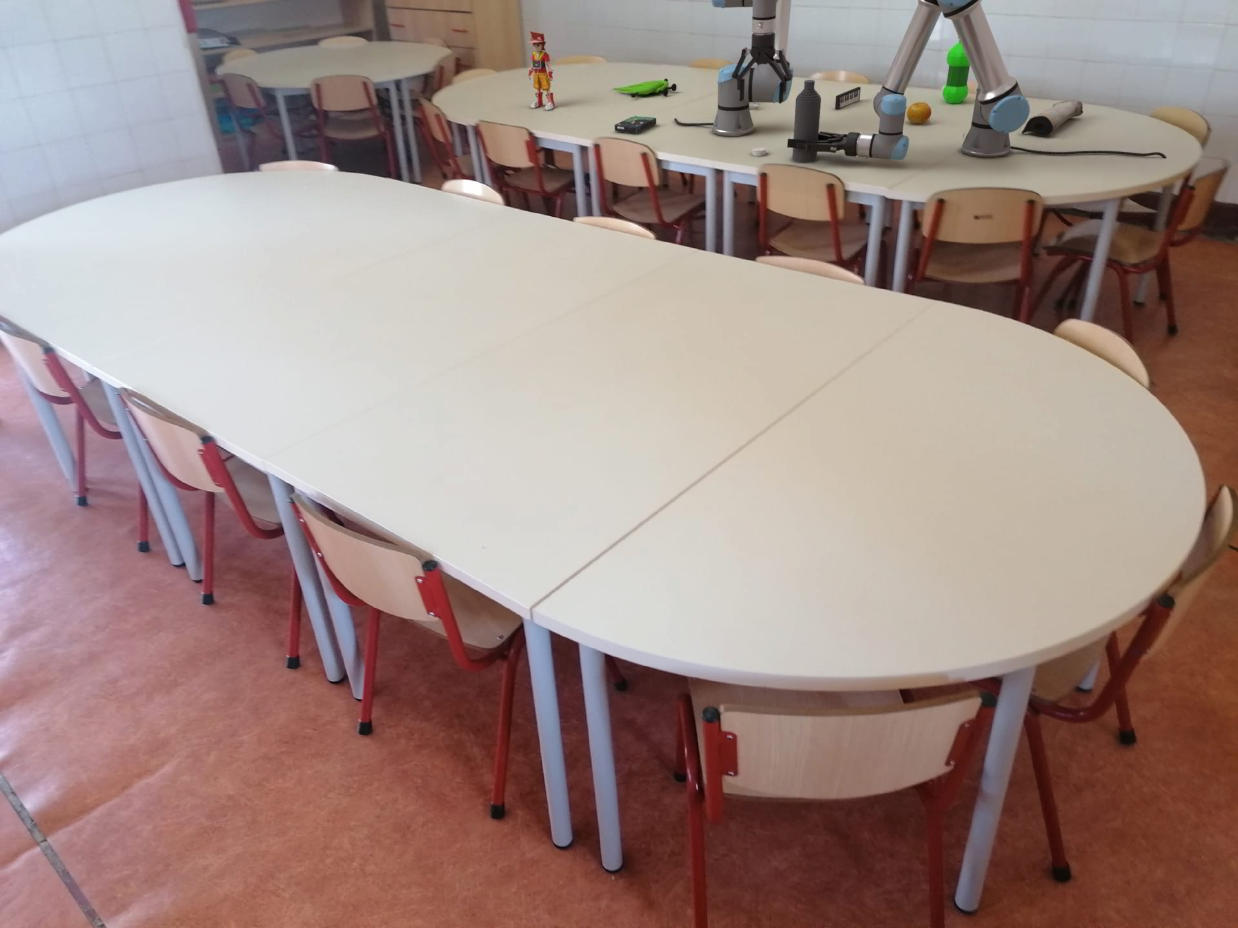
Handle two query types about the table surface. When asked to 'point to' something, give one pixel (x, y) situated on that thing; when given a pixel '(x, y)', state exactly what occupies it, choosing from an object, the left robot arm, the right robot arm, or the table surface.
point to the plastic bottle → (956, 75)
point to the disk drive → (635, 124)
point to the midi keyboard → (847, 97)
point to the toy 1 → (541, 71)
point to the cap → (759, 151)
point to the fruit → (919, 112)
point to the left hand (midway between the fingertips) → (761, 101)
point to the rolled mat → (1053, 118)
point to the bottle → (806, 120)
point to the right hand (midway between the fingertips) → (792, 139)
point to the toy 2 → (648, 88)
